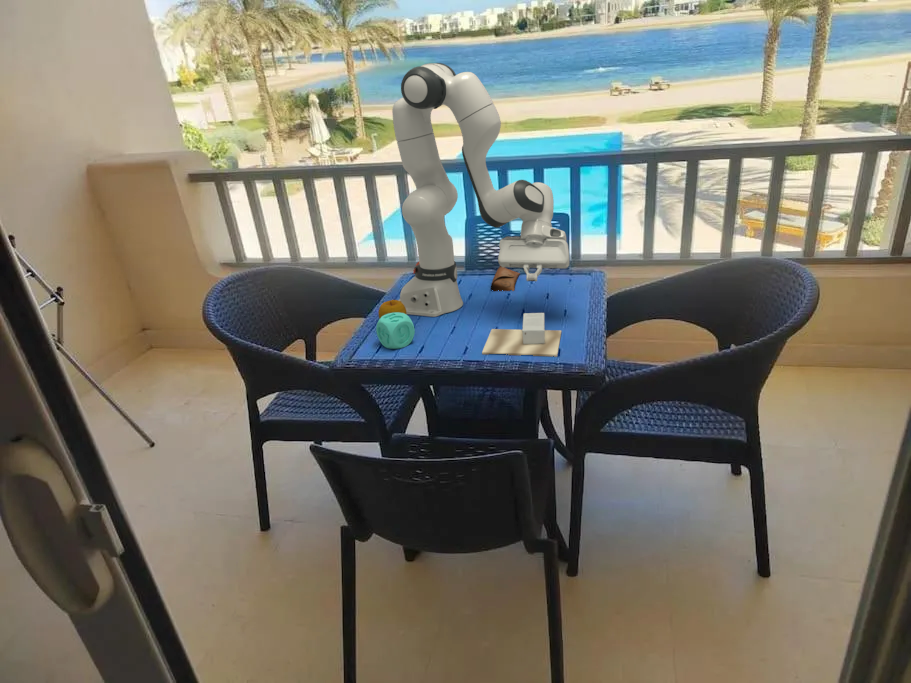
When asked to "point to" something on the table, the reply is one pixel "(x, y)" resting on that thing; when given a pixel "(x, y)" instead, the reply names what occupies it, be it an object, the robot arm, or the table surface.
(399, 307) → the apple
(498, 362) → the table surface
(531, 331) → the skincare box
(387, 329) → the decorative dice
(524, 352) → the birch board
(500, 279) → the sunglasses case
